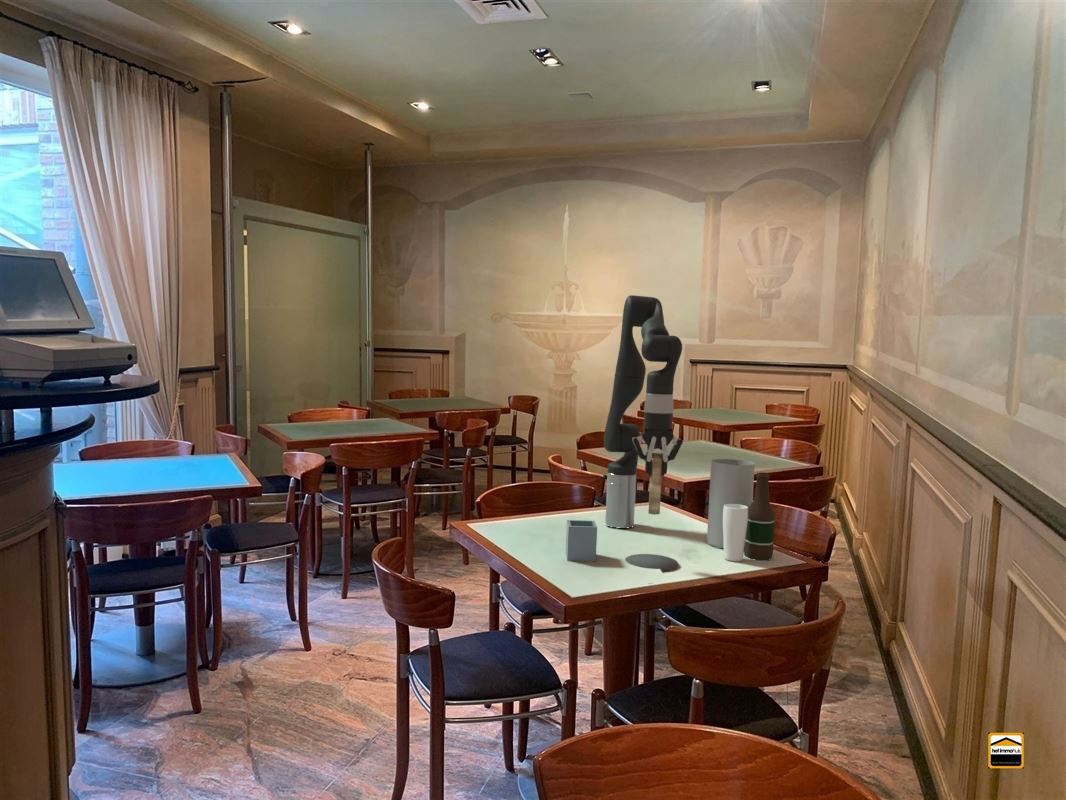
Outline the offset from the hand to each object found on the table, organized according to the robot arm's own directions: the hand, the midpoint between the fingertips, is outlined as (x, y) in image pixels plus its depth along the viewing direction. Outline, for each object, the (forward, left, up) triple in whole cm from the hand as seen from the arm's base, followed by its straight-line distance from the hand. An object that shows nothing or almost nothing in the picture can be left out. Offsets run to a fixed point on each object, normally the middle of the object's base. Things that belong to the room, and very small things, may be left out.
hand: (655, 475), depth 208 cm
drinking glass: (-7, +24, -24) cm, 35 cm away
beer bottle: (-10, +32, -24) cm, 41 cm away
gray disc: (0, 0, -24) cm, 24 cm away
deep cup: (-2, -19, -24) cm, 31 cm away
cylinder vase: (-23, +27, -24) cm, 43 cm away
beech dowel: (0, 0, -10) cm, 10 cm away
